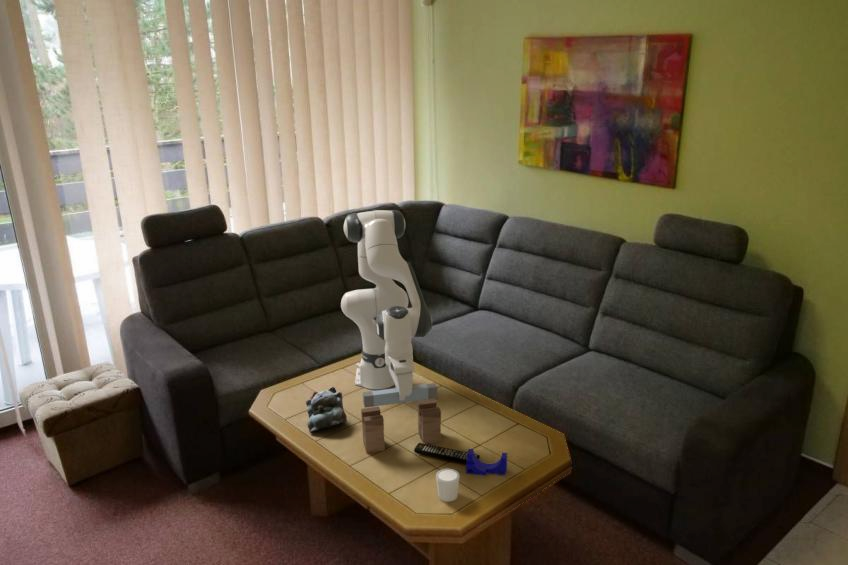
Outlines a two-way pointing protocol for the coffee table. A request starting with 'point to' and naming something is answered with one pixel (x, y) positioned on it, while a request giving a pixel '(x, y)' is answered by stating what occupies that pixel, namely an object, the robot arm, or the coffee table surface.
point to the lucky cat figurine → (325, 409)
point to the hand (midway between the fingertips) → (400, 396)
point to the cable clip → (485, 465)
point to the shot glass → (447, 484)
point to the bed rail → (393, 398)
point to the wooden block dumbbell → (426, 425)
